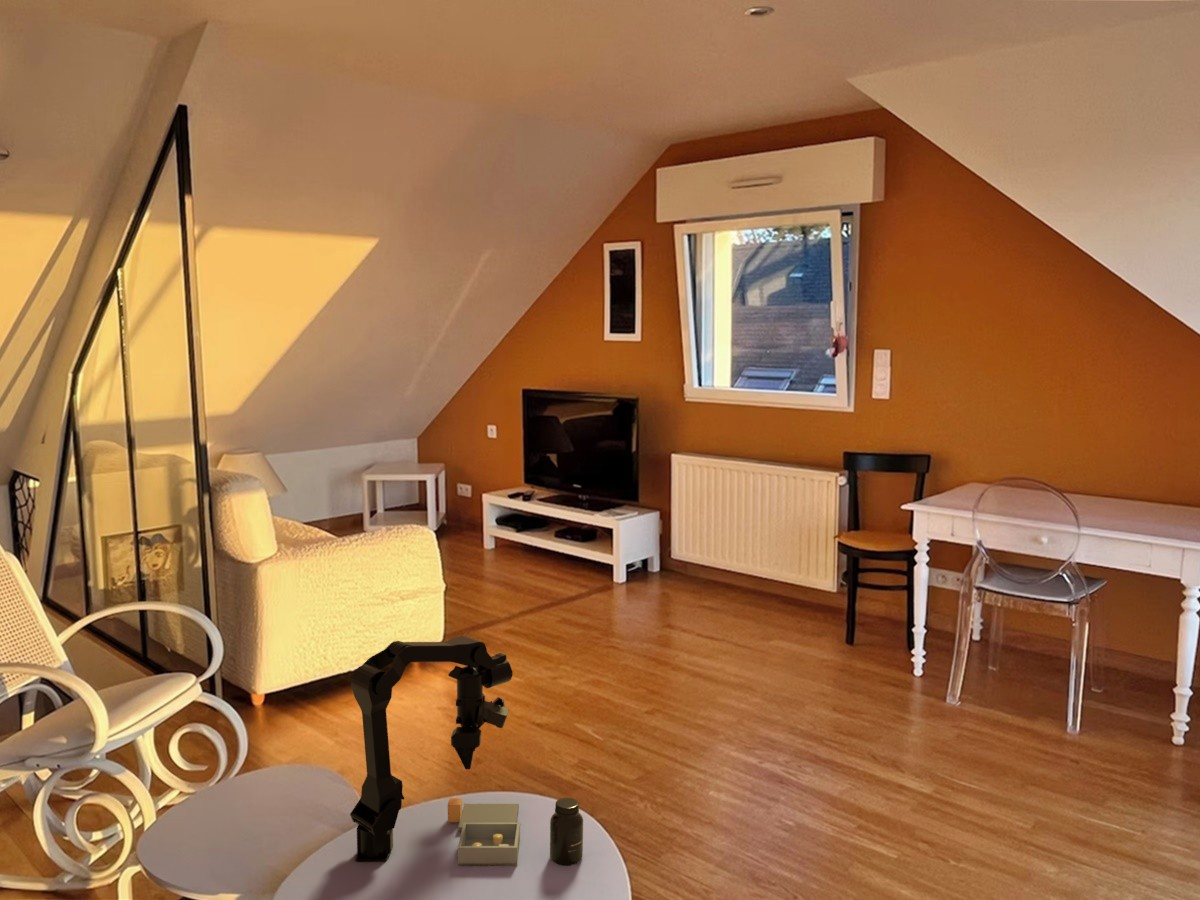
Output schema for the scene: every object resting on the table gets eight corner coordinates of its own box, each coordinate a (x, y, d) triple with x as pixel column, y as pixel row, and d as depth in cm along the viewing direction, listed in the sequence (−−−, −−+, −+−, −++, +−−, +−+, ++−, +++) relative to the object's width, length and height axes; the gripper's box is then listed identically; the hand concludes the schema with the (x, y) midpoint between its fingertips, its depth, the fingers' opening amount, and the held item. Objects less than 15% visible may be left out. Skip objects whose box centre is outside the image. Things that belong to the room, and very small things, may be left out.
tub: (457, 866, 192) (457, 847, 191) (463, 840, 202) (463, 822, 201) (517, 866, 192) (517, 847, 192) (520, 840, 202) (520, 822, 201)
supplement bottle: (578, 869, 191) (579, 812, 190) (546, 865, 193) (546, 809, 191) (586, 851, 198) (586, 796, 197) (554, 847, 199) (554, 793, 198)
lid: (445, 834, 204) (445, 813, 204) (451, 811, 215) (451, 790, 214) (515, 834, 205) (515, 813, 204) (518, 811, 215) (518, 790, 214)
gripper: (502, 709, 202) (502, 778, 204) (508, 678, 221) (509, 742, 223) (450, 709, 202) (451, 779, 204) (461, 678, 221) (461, 742, 222)
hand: (470, 759), depth 213 cm, fingers open, 9 cm apart
